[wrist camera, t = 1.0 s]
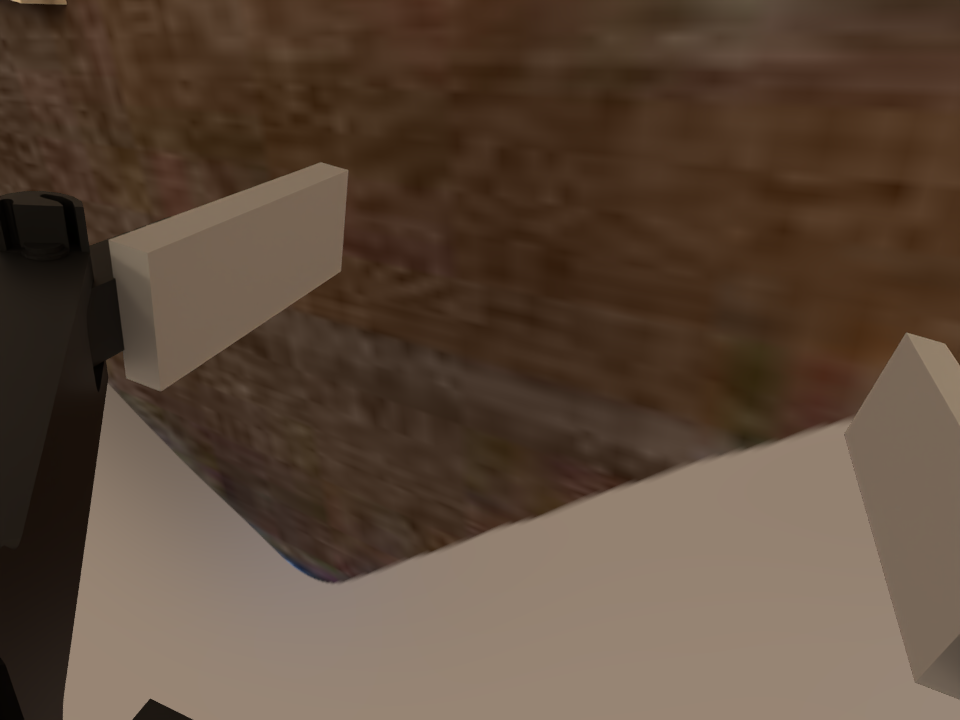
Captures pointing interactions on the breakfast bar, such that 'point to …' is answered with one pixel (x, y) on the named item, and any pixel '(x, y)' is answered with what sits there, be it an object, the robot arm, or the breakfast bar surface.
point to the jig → (42, 1)
